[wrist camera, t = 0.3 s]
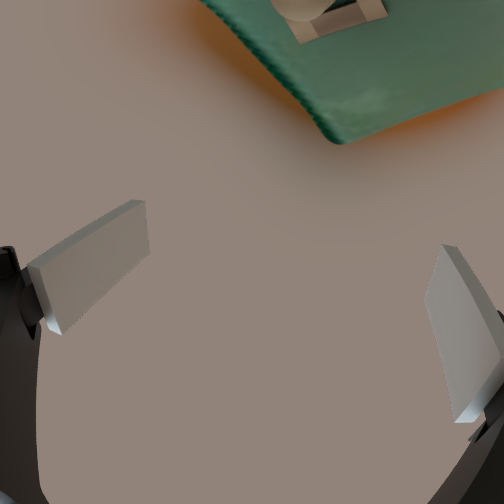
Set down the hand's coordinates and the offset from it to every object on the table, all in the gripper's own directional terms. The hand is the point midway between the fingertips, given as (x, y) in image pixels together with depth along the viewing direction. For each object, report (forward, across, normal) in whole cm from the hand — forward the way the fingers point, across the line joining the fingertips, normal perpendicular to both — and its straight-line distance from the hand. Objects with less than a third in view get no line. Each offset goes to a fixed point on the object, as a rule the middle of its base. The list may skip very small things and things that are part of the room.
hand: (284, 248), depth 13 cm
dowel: (+25, -1, +21) cm, 33 cm away
